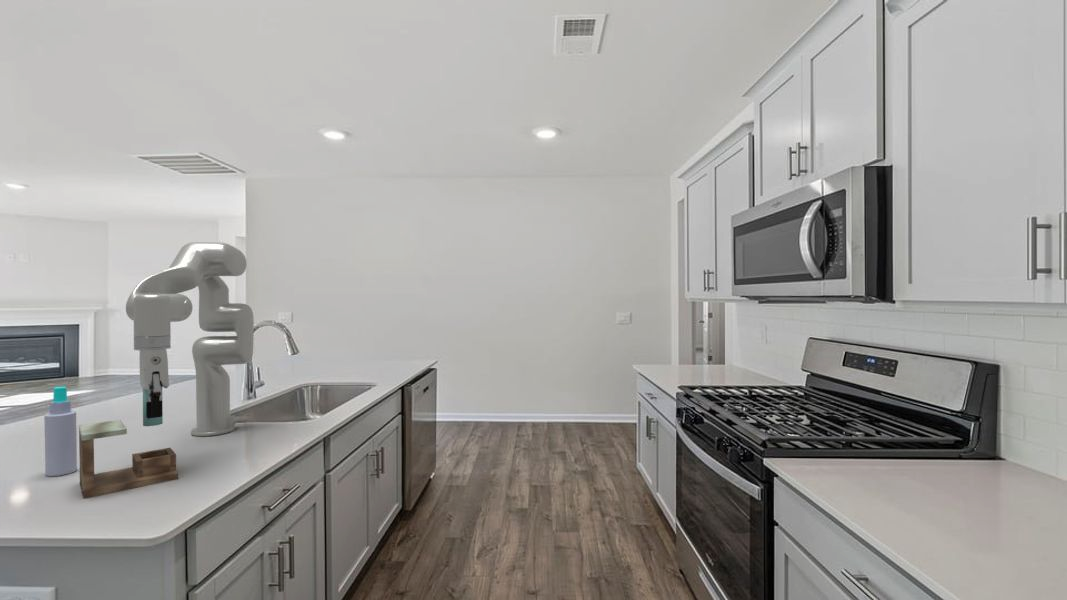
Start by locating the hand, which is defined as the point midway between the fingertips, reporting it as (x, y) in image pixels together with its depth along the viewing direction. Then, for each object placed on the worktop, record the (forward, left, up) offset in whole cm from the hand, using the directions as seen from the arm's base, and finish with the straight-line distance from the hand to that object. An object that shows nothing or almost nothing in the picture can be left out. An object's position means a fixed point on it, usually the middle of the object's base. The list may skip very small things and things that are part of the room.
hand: (152, 415), depth 132 cm
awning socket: (+5, 0, -15) cm, 16 cm away
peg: (0, 0, -2) cm, 2 cm away
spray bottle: (+17, -19, -16) cm, 30 cm away
